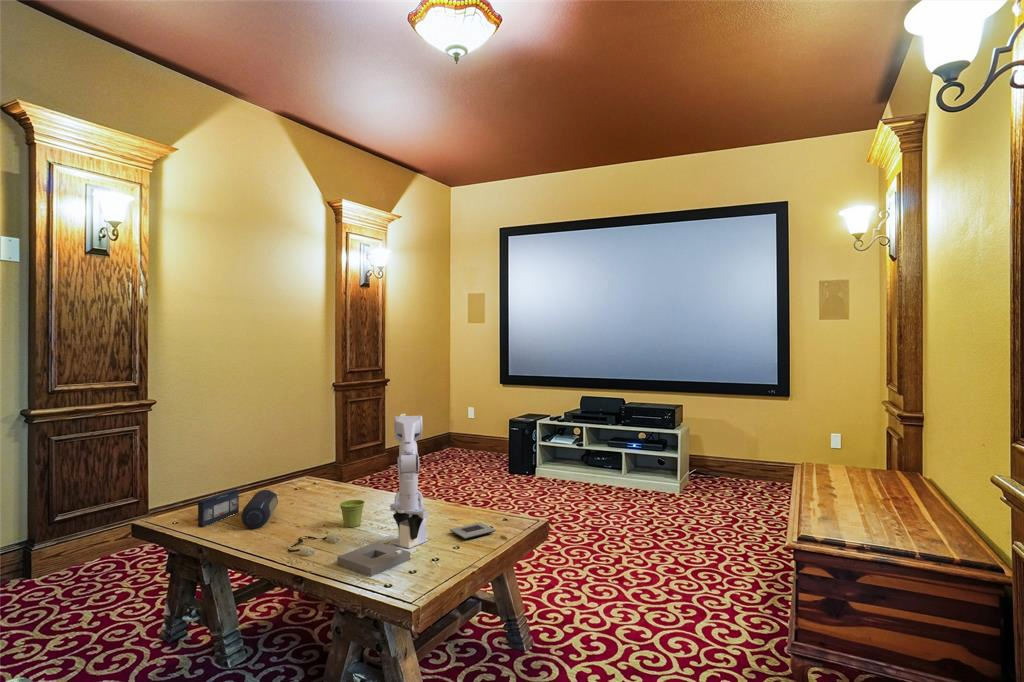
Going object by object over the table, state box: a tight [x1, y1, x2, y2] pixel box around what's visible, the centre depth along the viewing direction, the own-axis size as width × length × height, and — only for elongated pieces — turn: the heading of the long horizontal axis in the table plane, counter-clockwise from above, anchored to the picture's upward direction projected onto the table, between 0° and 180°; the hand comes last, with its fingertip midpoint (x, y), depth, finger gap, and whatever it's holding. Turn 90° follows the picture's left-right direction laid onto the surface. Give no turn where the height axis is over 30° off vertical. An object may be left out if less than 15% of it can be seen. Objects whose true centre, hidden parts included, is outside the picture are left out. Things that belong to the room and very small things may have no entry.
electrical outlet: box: [449, 521, 497, 540], centre depth 206 cm, size 13×10×2 cm
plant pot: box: [338, 499, 366, 528], centre depth 216 cm, size 9×9×9 cm
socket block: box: [336, 541, 411, 577], centre depth 180 cm, size 16×16×3 cm
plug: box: [400, 520, 418, 549], centre depth 176 cm, size 4×4×7 cm
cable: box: [287, 532, 341, 557], centre depth 195 cm, size 16×16×4 cm
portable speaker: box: [240, 489, 279, 529], centre depth 223 cm, size 25×10×10 cm, turn 13°
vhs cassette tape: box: [197, 488, 240, 528], centre depth 224 cm, size 18×3×10 cm, turn 162°
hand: (408, 537), depth 176 cm, fingers closed on plug, 4 cm apart
